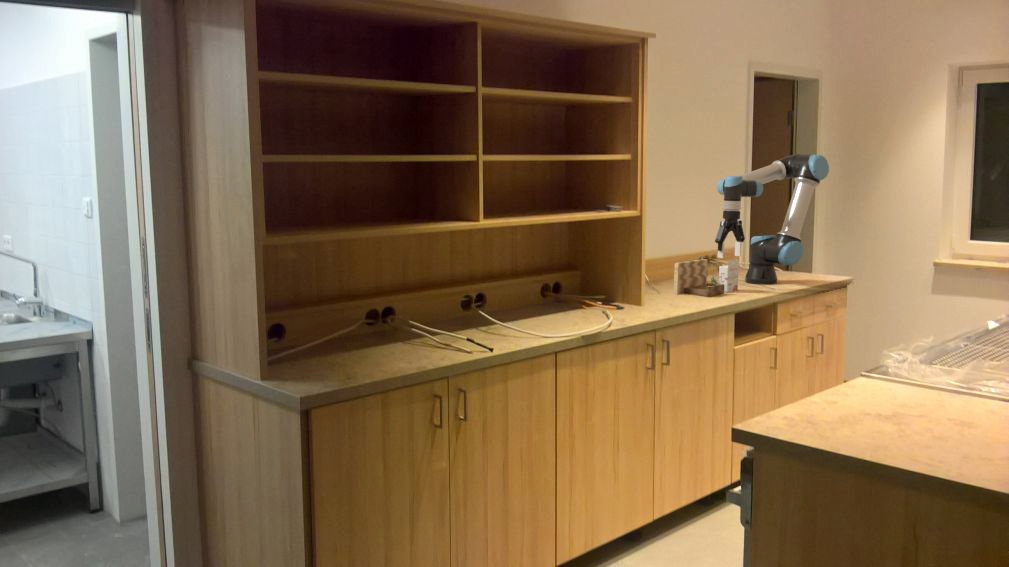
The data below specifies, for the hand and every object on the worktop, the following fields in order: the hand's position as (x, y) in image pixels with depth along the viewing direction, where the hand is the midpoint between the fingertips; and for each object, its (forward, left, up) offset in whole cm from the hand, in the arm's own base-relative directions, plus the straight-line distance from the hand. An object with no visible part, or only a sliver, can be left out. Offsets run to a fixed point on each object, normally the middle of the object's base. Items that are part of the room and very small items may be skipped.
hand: (729, 257), depth 386 cm
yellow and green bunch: (-7, -20, -16) cm, 27 cm away
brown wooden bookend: (+15, -3, -16) cm, 22 cm away
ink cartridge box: (0, 0, -16) cm, 16 cm away
